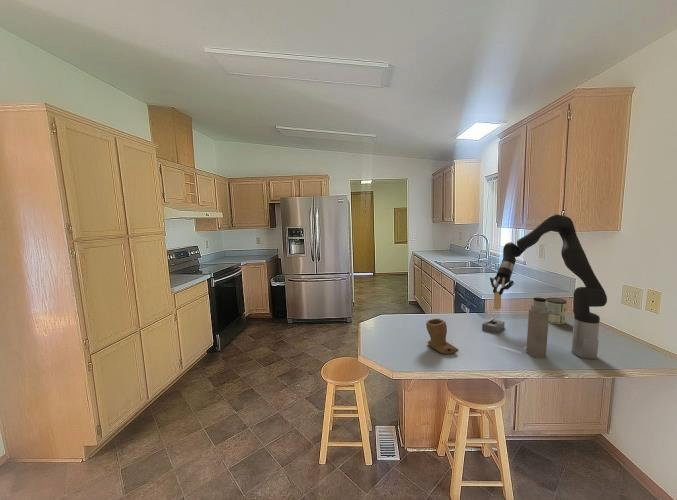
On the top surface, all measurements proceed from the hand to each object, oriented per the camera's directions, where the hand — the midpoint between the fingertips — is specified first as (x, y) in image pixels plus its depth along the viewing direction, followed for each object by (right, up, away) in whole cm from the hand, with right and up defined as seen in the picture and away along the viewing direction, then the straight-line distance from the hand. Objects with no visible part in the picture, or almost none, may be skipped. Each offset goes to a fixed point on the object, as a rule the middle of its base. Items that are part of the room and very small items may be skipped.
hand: (497, 293), depth 171 cm
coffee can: (+43, -20, +12) cm, 48 cm away
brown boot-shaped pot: (-42, -25, -23) cm, 54 cm away
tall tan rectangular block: (+2, -9, +3) cm, 10 cm away
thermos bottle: (+2, -25, -30) cm, 39 cm away
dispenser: (-3, -22, 0) cm, 22 cm away
